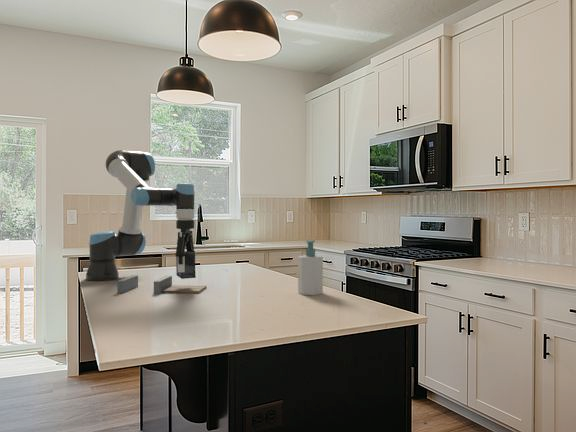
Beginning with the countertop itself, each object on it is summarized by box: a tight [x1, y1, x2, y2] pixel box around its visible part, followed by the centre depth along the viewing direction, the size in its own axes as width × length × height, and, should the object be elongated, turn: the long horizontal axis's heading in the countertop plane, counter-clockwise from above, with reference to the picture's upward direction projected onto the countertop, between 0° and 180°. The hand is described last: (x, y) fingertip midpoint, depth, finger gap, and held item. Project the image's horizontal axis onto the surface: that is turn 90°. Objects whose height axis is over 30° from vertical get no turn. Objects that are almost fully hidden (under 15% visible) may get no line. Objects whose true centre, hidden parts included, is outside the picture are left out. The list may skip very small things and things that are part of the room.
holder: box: [116, 274, 173, 295], centre depth 199 cm, size 16×18×5 cm
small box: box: [175, 250, 197, 280], centre depth 198 cm, size 11×6×10 cm, turn 25°
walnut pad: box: [162, 284, 207, 295], centre depth 198 cm, size 13×15×1 cm
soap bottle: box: [297, 239, 324, 296], centre depth 193 cm, size 10×9×22 cm
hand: (185, 270), depth 198 cm, fingers closed on small box, 12 cm apart
